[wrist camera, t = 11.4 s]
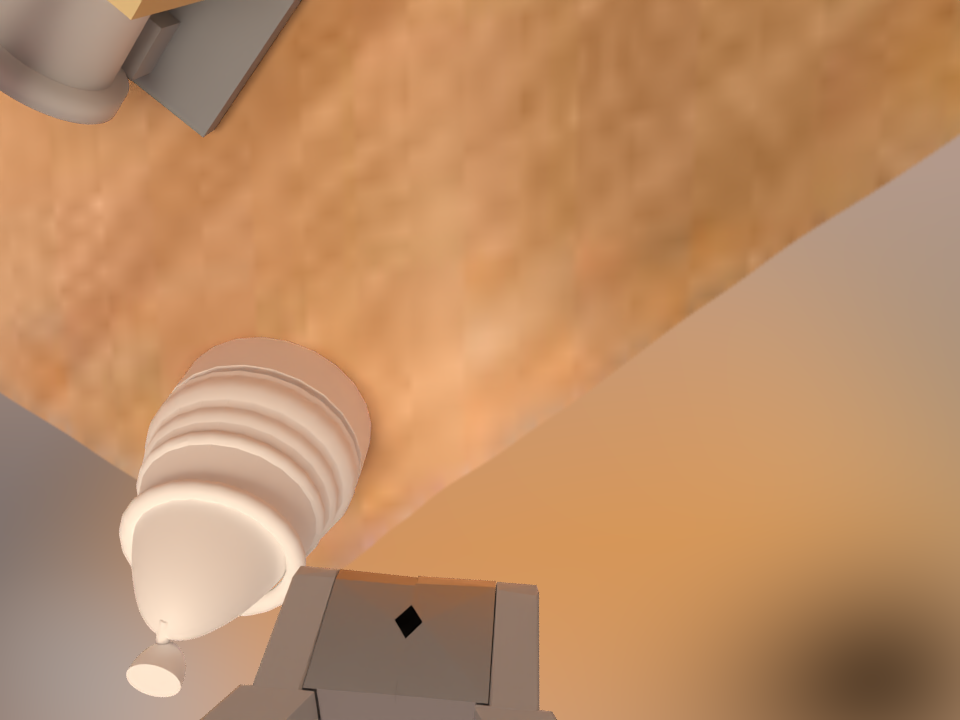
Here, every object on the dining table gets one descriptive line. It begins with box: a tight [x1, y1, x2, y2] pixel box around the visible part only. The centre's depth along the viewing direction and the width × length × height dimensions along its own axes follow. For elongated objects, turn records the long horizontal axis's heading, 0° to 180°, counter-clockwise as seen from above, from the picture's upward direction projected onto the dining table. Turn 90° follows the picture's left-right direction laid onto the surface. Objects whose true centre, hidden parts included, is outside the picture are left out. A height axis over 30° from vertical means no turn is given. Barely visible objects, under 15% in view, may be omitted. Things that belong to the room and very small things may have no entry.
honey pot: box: [119, 337, 371, 697], centre depth 40 cm, size 13×13×18 cm
